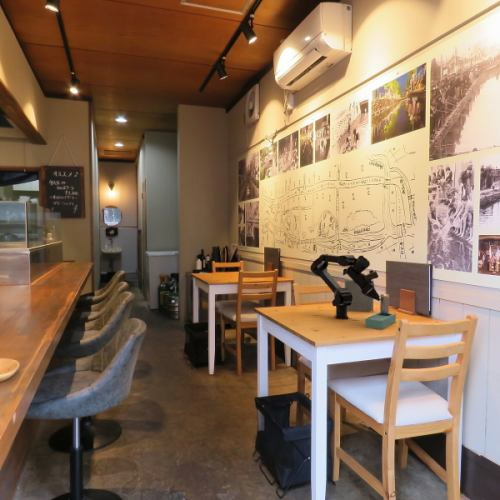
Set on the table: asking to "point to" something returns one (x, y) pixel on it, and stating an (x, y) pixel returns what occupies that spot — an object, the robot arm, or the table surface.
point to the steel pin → (384, 305)
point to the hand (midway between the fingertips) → (379, 298)
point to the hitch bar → (380, 321)
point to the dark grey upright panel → (358, 298)
